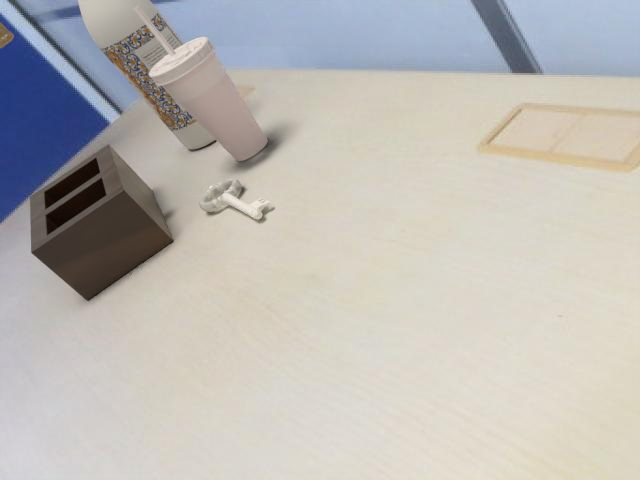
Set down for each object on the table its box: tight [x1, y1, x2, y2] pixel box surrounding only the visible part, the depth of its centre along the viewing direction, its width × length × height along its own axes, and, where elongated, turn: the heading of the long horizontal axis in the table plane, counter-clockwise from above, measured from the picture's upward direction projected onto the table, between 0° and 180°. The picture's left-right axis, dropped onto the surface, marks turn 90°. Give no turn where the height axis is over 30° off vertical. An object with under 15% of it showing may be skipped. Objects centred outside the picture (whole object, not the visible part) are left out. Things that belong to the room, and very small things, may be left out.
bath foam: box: [77, 0, 217, 150], centre depth 76 cm, size 7×7×20 cm
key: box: [198, 177, 271, 220], centre depth 66 cm, size 12×1×4 cm
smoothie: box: [134, 6, 269, 162], centre depth 69 cm, size 6×6×14 cm
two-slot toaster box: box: [29, 144, 174, 301], centre depth 70 cm, size 17×9×6 cm, turn 34°
